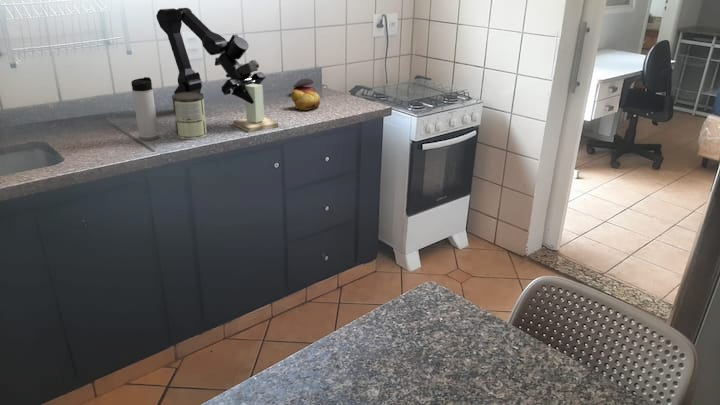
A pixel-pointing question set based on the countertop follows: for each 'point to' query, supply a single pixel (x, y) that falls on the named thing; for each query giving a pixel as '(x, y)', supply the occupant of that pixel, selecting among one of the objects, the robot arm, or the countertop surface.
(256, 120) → the sage block
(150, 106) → the travel mug
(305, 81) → the dark grey rounded piece
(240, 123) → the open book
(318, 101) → the bread roll
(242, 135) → the countertop surface
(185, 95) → the coffee can
